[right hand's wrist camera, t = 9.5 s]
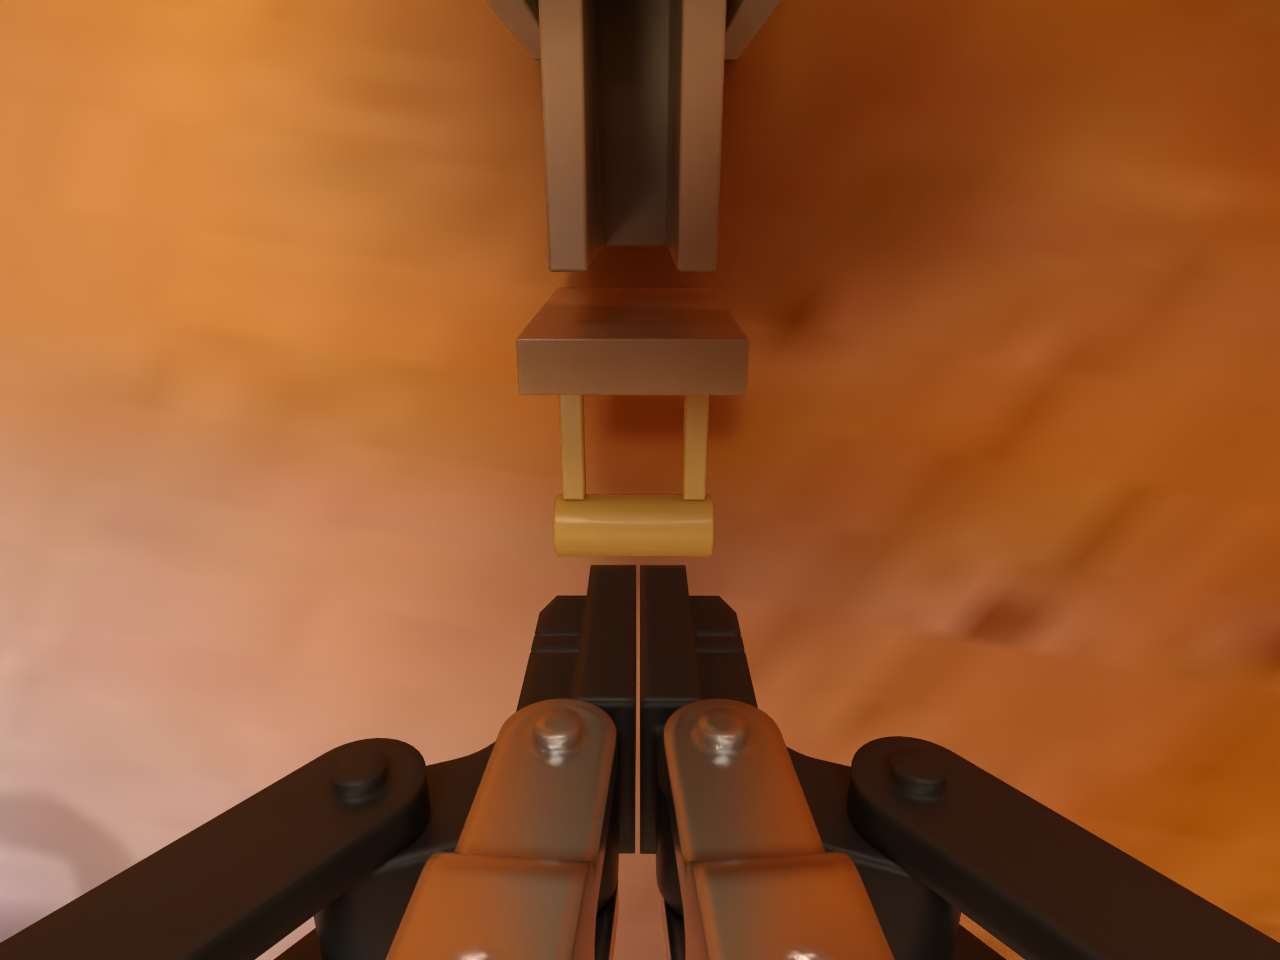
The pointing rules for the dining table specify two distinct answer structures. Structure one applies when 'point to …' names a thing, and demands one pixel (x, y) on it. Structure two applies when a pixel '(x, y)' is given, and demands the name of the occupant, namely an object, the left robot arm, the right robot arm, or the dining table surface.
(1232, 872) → the dining table surface
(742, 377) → the drawer
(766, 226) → the dining table surface
